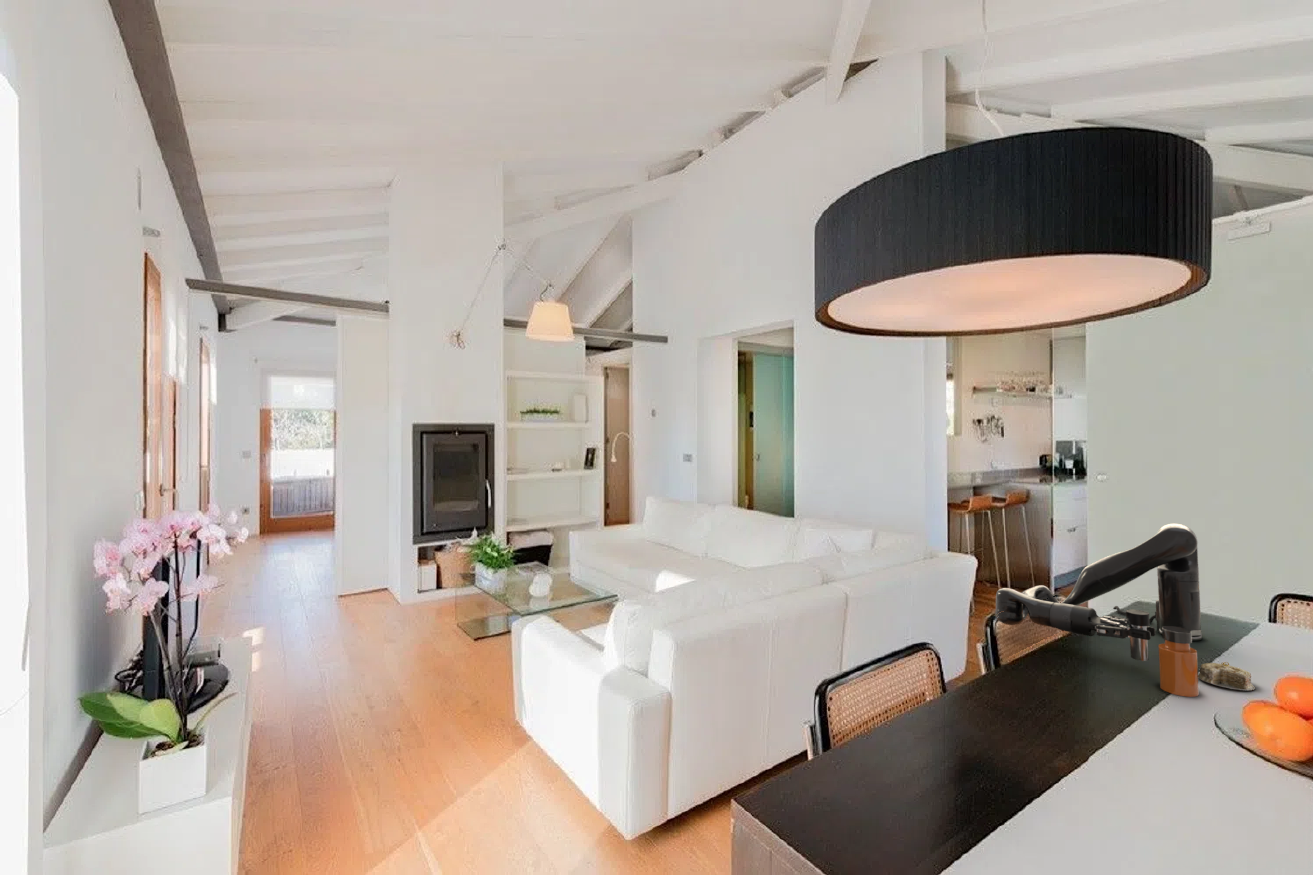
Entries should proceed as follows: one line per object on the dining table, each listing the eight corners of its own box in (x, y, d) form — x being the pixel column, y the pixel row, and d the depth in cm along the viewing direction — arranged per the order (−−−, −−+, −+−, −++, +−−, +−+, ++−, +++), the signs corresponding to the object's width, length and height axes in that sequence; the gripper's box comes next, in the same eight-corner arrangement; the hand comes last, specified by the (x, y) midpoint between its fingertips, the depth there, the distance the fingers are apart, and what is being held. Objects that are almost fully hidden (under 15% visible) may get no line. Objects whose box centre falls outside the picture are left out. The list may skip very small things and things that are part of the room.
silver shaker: (1123, 655, 151) (1121, 609, 151) (1140, 654, 151) (1138, 608, 151) (1138, 662, 146) (1136, 615, 146) (1156, 661, 146) (1154, 614, 146)
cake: (1190, 674, 146) (1189, 653, 146) (1243, 681, 142) (1241, 658, 142) (1207, 687, 137) (1206, 664, 137) (1264, 694, 133) (1263, 670, 133)
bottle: (1152, 685, 140) (1150, 625, 140) (1179, 683, 140) (1177, 624, 140) (1178, 697, 133) (1175, 634, 133) (1207, 696, 133) (1204, 633, 133)
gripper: (1083, 626, 164) (1161, 642, 150) (1064, 638, 156) (1145, 655, 142) (1081, 600, 164) (1159, 613, 151) (1063, 610, 156) (1143, 625, 142)
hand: (1152, 633), depth 146 cm, fingers closed on silver shaker, 3 cm apart
